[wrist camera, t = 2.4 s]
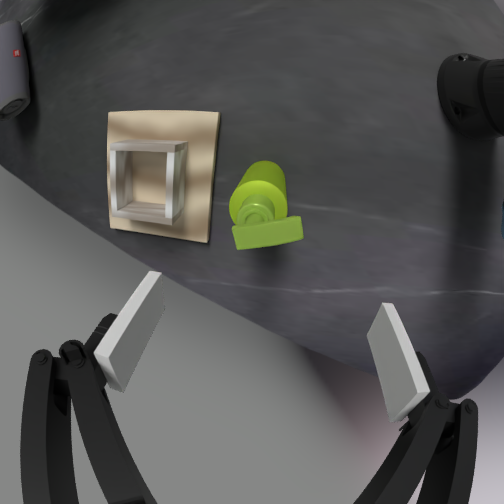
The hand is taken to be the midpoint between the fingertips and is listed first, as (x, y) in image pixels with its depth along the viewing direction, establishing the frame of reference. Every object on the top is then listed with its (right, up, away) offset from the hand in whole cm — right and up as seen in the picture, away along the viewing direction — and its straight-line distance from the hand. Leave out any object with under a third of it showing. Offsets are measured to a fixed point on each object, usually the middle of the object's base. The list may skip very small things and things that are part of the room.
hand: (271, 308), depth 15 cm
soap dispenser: (+1, +14, +23) cm, 27 cm away
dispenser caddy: (-16, +15, +24) cm, 33 cm away
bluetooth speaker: (-49, +42, +14) cm, 66 cm away
